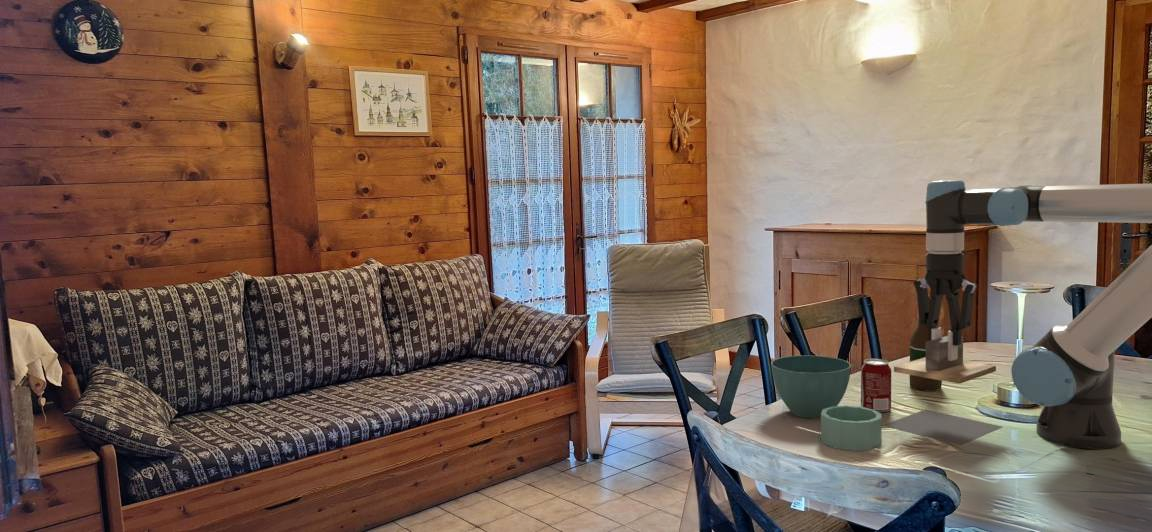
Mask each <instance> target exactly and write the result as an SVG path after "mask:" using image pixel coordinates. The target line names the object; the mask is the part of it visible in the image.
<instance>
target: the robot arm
mask: <svg viewBox="0 0 1152 532" xmlns="http://www.w3.org/2000/svg"><path fill="white" fill-rule="evenodd" d="M965 185H966V183H965V182H964V181H963V180H961V179H956V180H950V179H948V180H933V181H929V183H927V186H926V197H925V202H924V203H925V204H926V205H925V206H926V208H925V210H926V218H925V219H926V220H925V221H926V229H925V230H926V232H925V250H926V251H928V252H927V253H926V254H925V268H926V273H925V275H924V277H923V278H921V279H917V280H916V279H915V280H914V281H913V285H914V288H915V290H916V296H917V297H916V299H917V308H918V321H919V322H920V324H924V325H926V326H927V327H928V341H931V340H934V339H938V338H941V337H942V327H939V326H940V323H939V320H940V314H941V308H942V307H941V306H942V302H943V297H944V296H945V300H947V306H948V308H947V309H948V313H949V321H950V329H949V330H947V336H948V361H953V360H956V359H958V345H961V337H962V332H963V330H966V329H970V328H971V325H972V317H973V307H974V297H975V293H976V291H977V289H978V284H977V283H975V282H973V283H972V282H970V281H968V280H967V279H966V276H965V275H964V269H965V254H964V253H963V252H962V251H964V250H965V226H969V225H970V226H971V225H974V226H976V225H977V226H999V227H1007V226H1018V225H1021V224H1022V223H1023V222H1030V223H1031V222H1033V223H1035V222H1036V223H1037V222H1052V223H1053V222H1055V223H1056V222H1059V223H1061V222H1062V223H1063V222H1065V223H1066V222H1067V223H1068V222H1069V223H1072V222H1073V223H1120V224H1122V223H1125V224H1126V223H1128V224H1131V223H1132V224H1138V223H1139V224H1142V223H1143V224H1152V183H1124V184H1123V183H1121V184H1120V183H1119V184H1115V183H1114V184H1075V185H1073V184H1072V185H1070V184H1069V185H1068V184H1067V185H1066V184H1065V185H1044V186H1043V185H1035V186H1034V185H1019V186H1014V187H1010V186H1009V187H1000V188H999V187H997V188H978V189H976V188H975V189H971V188H969V189H968V188H966V186H965ZM928 287H929V288H930V294H929V290H928ZM961 288H962V291H963V293H962V298H961V304H960V301H959V300H960V289H961ZM929 295H930V296H929ZM928 297H931V302H930V308H929V298H928ZM1150 319H1152V244H1151V245H1149V247H1148V248H1147V249H1146V250H1144V252H1143V253H1141V254H1140V255H1139V256H1138V257H1137V258H1136V259H1135V260H1134V261H1133V262H1132V263H1131V264H1130V265H1129V266H1128V267H1127V268H1126V269H1125V270H1124V271H1122V273H1121V274H1119V275H1118V276H1117V277H1116V278H1115V279H1114V280H1113V281H1112V282H1111V283H1110V284H1109V285H1108V286H1107V287H1106V288H1105V289H1103V291H1102V292H1100V294H1098V295H1097V297H1096V298H1094V299H1093V300H1092V301H1091V302H1090V303H1089V304H1088V305H1087V306H1086V307H1085V308H1084V309H1083V310H1082V311H1081V312H1080V313H1079V314H1077V316H1076V317H1075V318H1073V320H1071V321H1070V323H1068V324H1067V325H1066V324H1058V325H1057V324H1056V325H1054V326H1053V327H1051V328H1050V329H1049V331H1048V332H1047V333H1046V334H1044V336H1043V337H1041V338H1040V339H1039V340H1038V341H1037V342H1036V343H1035V344H1034V345H1032V347H1028V348H1025V349H1024V350H1022V351H1020V353H1019V354H1017V356H1016V357H1015V358H1014V360H1013V361H1012V364H1011V370H1010V371H1011V378H1012V382H1013V384H1014V386H1015V388H1016V389H1017V390H1016V391H1018V392H1019V393H1020V395H1022V397H1023V398H1025V399H1026V400H1027V401H1029V402H1030V403H1033V404H1035V405H1038V406H1042V409H1041V411H1040V413H1039V416H1038V418H1037V421H1036V434H1037V435H1038V436H1039V437H1040V438H1042V439H1045V440H1047V441H1049V442H1052V443H1056V444H1060V445H1063V446H1066V447H1071V448H1079V449H1087V450H1088V449H1089V450H1102V449H1103V450H1105V449H1112V448H1117V447H1118V446H1120V445H1121V443H1122V431H1121V427H1120V425H1119V422H1118V419H1117V416H1116V413H1115V410H1114V406H1113V393H1114V392H1113V391H1114V374H1115V373H1114V372H1115V353H1116V351H1117V349H1118V348H1119V347H1120V346H1121V345H1123V344H1124V343H1125V342H1126V341H1127V340H1128V339H1130V337H1131V336H1133V335H1134V333H1136V332H1137V331H1138V330H1139V329H1140V328H1141V327H1143V326H1144V325H1145V324H1146V323H1147V322H1148V321H1149V320H1150Z"/></svg>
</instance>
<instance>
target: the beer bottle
mask: <svg viewBox="0 0 1152 532" xmlns="http://www.w3.org/2000/svg"><path fill="white" fill-rule="evenodd" d="M928 298H929V308H930V302H931V297H930V296H928ZM927 341H928V327H927V326H926V325H924V324H920V322H919V320H918V322H917V327H916V328H915V330H914V331H913V332H912V334H911V337H910V341H909V362H911V361H914V360H918V359H921V358H925V357H926V342H927ZM942 382H943V381H942V380H936V379H931V378H925V377H920V376H914V375H909V387H911V388H912V389H913V390H917V391H924V392H933V391H934V392H935V391H938V390H940V389H941V388H942V384H943V383H942Z"/></svg>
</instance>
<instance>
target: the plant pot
mask: <svg viewBox="0 0 1152 532" xmlns="http://www.w3.org/2000/svg"><path fill="white" fill-rule="evenodd" d="M770 366H771V374H772V379H773V383H774V385H775V389H776V391H777V392H778V395H779V397H780V399H781V400H782V401H783V403H784V404H785V406H786V407H787V408H788V410H790V413H792V414H793V415H794V416H796V417H799V418H803V419H816V418H817V419H819V418H821V412H822V409H825V408H829V407H831V406H839V404H840V402H841V401H842V399H843V398H844V396H845V394H846V391H847V389H848V386H849V382H850V377H851V370H852V364H851V363H850V362H849V361H847V360H844V359H841V358H838V357H831V356H823V355H809V354H808V355H807V354H806V355H790V356H783V357H782V356H781V357H779V358H775V359H774V360H772V361H771V362H770Z"/></svg>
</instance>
